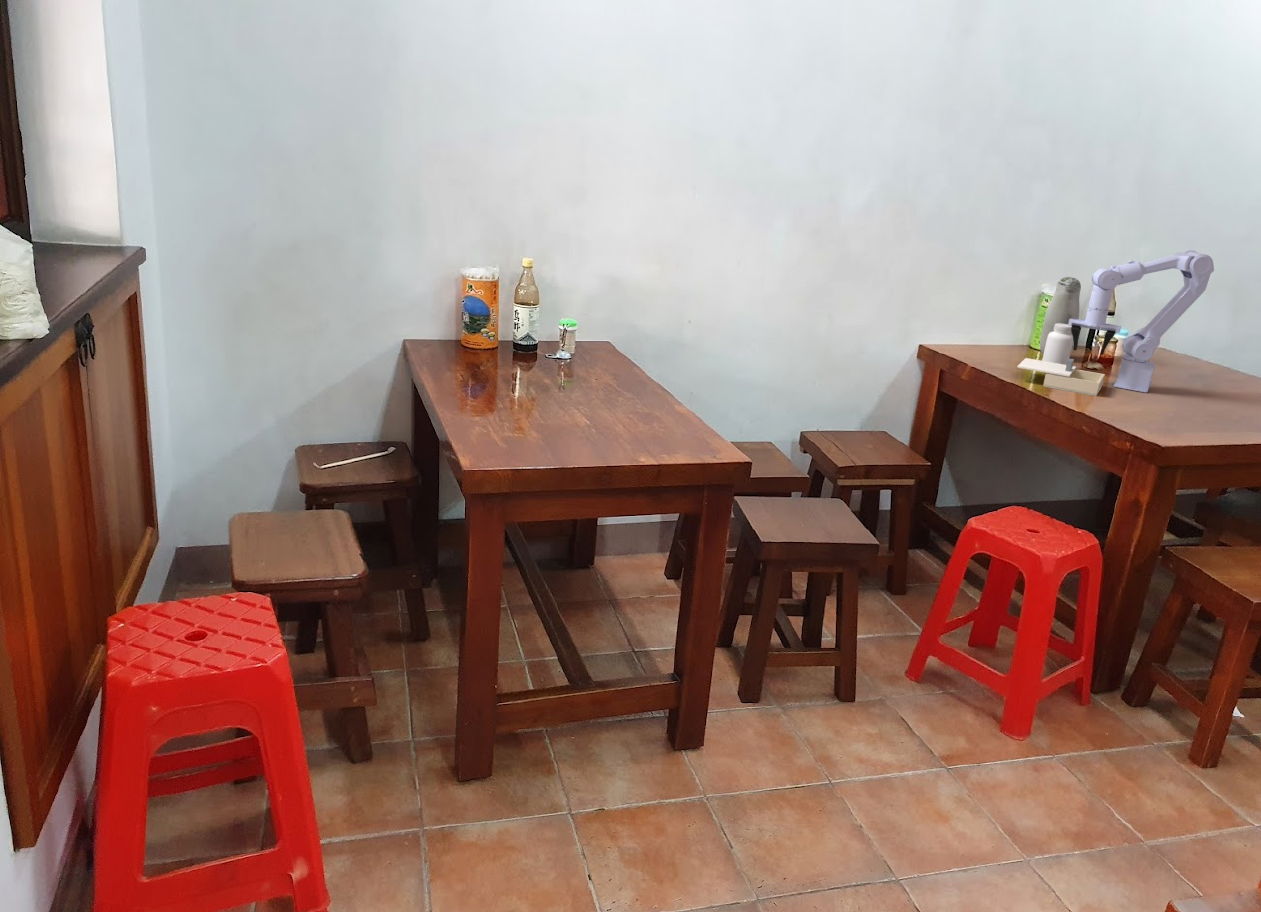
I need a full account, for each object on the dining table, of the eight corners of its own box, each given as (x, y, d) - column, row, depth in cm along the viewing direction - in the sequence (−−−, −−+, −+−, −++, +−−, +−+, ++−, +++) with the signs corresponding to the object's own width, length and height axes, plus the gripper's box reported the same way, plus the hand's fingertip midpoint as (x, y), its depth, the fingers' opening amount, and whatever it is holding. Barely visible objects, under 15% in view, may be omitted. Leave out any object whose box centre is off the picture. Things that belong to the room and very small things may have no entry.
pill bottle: (1063, 374, 308) (1073, 328, 303) (1037, 369, 312) (1047, 324, 307) (1069, 370, 314) (1079, 325, 309) (1044, 365, 318) (1053, 321, 313)
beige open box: (1101, 386, 296) (1104, 374, 294) (1096, 396, 284) (1099, 383, 283) (1050, 377, 303) (1053, 365, 301) (1043, 386, 291) (1045, 373, 290)
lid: (1075, 368, 298) (1078, 356, 297) (1069, 376, 287) (1071, 364, 286) (1025, 359, 305) (1027, 348, 304) (1017, 367, 294) (1019, 355, 293)
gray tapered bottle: (1030, 355, 332) (1047, 274, 322) (1054, 354, 335) (1072, 274, 326) (1050, 362, 323) (1068, 279, 314) (1074, 362, 326) (1093, 280, 317)
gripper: (1071, 306, 291) (1061, 350, 295) (1123, 314, 284) (1112, 358, 288) (1074, 303, 296) (1064, 346, 301) (1125, 310, 290) (1114, 354, 294)
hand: (1088, 352), depth 295 cm, fingers open, 7 cm apart
